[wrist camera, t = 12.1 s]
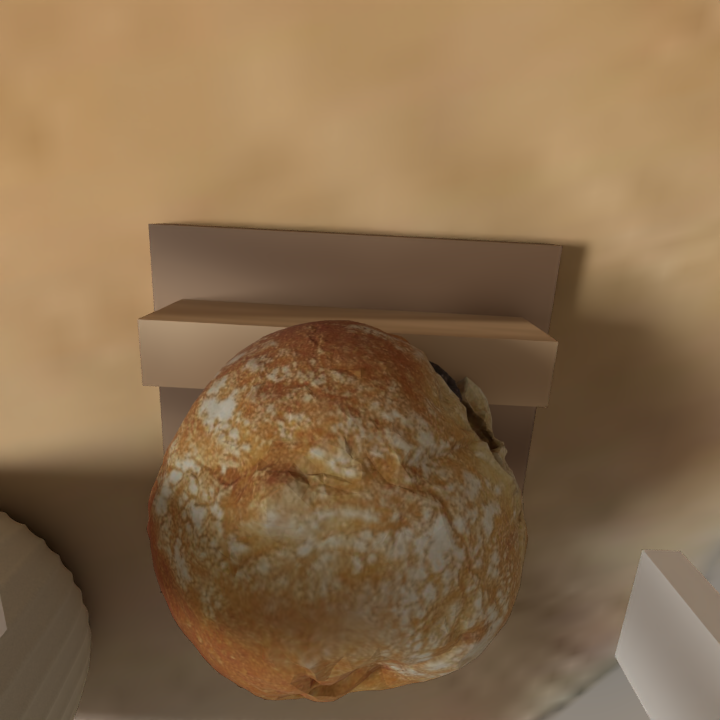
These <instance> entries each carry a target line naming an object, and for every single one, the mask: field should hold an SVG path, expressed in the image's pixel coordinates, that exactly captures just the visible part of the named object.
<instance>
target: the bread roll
mask: <svg viewBox="0 0 720 720" xmlns="http://www.w3.org/2000/svg"><path fill="white" fill-rule="evenodd" d="M506 453H507V449H506V448H505V446H504V442H503V441H500V440H498V439H496V438H495V437H494V434H493V430H492V416H491V412H490V408H489V405H488V401H487V398H486V396H485V395H484V393H483V392H482V390H481V389H480V388H479V387H478V386H477V385H476V384H475V383H473V382H472V381H471V380H470V379H469V378H468V377H465V378H463V379H462V380H460V381H458V382H457V383H455V380H454V379H453V378H452V377H450V376H449V374H448V373H447V372H446V371H444V370H443V369H442V368H441V367H440V366H439V365H437V364H435V363H433V362H431V361H429V359H428V357H427V355H426V354H425V352H423V351H421V350H419V349H418V348H416V347H414V346H413V345H411V344H410V343H409V342H408V341H407V340H406V339H405V338H403V337H402V336H398V335H393V334H389V333H386V332H384V331H382V330H380V329H378V328H375V327H373V326H370V325H367V324H364V323H359V322H355V321H350V320H324V321H315V322H308V323H303V324H298V325H294V326H291V327H288V328H285V329H281V330H278V331H276V332H273V333H271V334H268V335H266V336H263V337H262V338H261V339H259V340H258V341H256V342H254V343H252V344H250V345H249V346H247V347H246V348H244V349H243V350H241V351H240V352H239V353H237V354H236V355H235V356H234V357H233V358H232V359H230V360H229V361H228V362H227V363H226V364H225V365H224V366H223V367H222V368H221V369H220V370H219V372H218V373H217V374H216V375H215V377H214V378H213V379H212V380H211V381H210V383H209V384H208V385H207V386H206V387H205V389H204V390H203V391H202V393H201V394H200V396H199V397H198V398H197V399H196V400H195V402H194V403H193V405H192V407H191V408H190V410H189V412H188V414H187V415H186V417H185V418H184V420H183V422H182V424H181V426H180V427H179V429H178V431H177V433H176V435H175V436H174V438H173V440H172V441H171V443H170V444H169V446H168V448H167V450H166V453H165V455H164V458H163V464H162V466H161V467H160V470H159V473H158V476H157V478H156V481H155V483H154V485H153V488H152V490H151V493H150V497H149V502H148V511H149V521H148V525H147V532H148V535H149V539H150V547H151V553H152V559H153V566H154V570H155V574H156V577H157V580H158V583H159V586H160V589H161V593H163V595H164V597H165V599H166V602H167V604H168V607H169V609H170V612H171V614H172V616H173V618H174V620H175V621H176V623H177V625H178V626H179V628H180V629H181V630H182V632H183V633H184V634H185V636H186V637H187V638H188V639H189V640H190V641H191V642H192V643H193V644H194V646H195V647H196V648H197V650H198V651H199V652H200V654H201V655H202V657H203V658H204V659H205V660H206V661H207V662H208V663H209V664H210V665H211V666H212V667H213V668H214V669H215V670H216V671H217V672H219V673H220V674H221V675H223V676H224V677H226V678H228V679H229V680H231V681H232V682H234V683H235V684H237V685H238V686H239V687H242V688H245V689H247V690H248V691H250V692H251V693H253V694H254V695H255V696H258V697H261V698H263V699H265V700H286V699H300V698H307V699H310V700H312V701H315V702H329V701H335V700H337V699H339V698H340V697H342V696H344V695H346V694H347V693H351V692H357V691H364V690H385V689H391V688H395V687H399V686H403V685H407V684H411V683H418V682H425V681H428V680H432V679H435V678H438V677H441V676H444V675H447V674H450V673H452V672H454V671H456V670H458V669H460V668H462V667H463V666H465V665H466V664H468V663H469V662H471V661H472V660H474V659H475V658H477V657H478V656H479V655H480V654H481V653H482V652H483V651H484V649H485V648H486V647H487V646H488V645H489V643H490V642H491V641H492V640H493V638H494V637H495V636H496V635H497V633H498V632H499V631H500V630H501V628H502V627H503V626H504V625H505V623H506V622H507V620H508V618H509V616H510V614H511V611H512V608H513V606H514V603H515V600H516V597H517V594H518V591H519V588H520V584H521V576H522V568H523V563H524V558H525V553H526V547H527V542H528V535H527V528H526V523H525V519H524V516H523V511H524V507H523V500H522V491H521V490H520V488H519V486H518V484H517V481H516V479H515V476H514V474H513V471H512V470H511V469H510V468H509V466H508V464H507V463H506V460H505V456H506Z"/></svg>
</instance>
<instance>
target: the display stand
mask: <svg viewBox="0 0 720 720" xmlns="http://www.w3.org/2000/svg"><path fill="white" fill-rule="evenodd" d="M149 239H150V253H151V268H152V283H153V298H154V312H153V313H151V314H148V315H146V316H144V317H142V318H140V319H138V330H139V343H140V356H141V369H142V382H143V386H159V388H160V403H161V418H162V433H163V448H164V455H165V453H166V450H167V448H168V446H169V444H170V443H171V441H172V440H173V438H174V436H175V435H176V433H177V431H178V429H179V427H180V426H181V424H182V422H183V420H184V418H185V417H186V415H187V414H188V412H189V410H190V408H191V407H192V405H193V403H194V402H195V400H196V399H197V398H198V397H199V396H200V394H201V393H202V391H203V390H204V389H205V387H206V386H207V385H208V384H209V383H210V381H211V380H212V379H213V378H214V377H215V375H216V374H217V373H218V372H219V370H220V369H221V368H222V367H223V366H224V365H225V364H226V363H227V362H228V361H229V360H230V359H232V358H233V357H234V356H235V355H236V354H237V353H239V352H240V351H241V350H243V349H244V348H246V347H247V346H249V345H250V344H252V343H254V342H256V341H258V340H259V339H261V338H262V337H263V336H266V335H268V334H271V333H273V332H276V331H278V330H281V329H285V328H288V327H291V326H294V325H298V324H303V323H308V322H315V321H324V320H350V321H355V322H359V323H364V324H367V325H370V326H373V327H375V328H378V329H380V330H382V331H384V332H386V333H389V334H393V335H398V336H402V337H403V338H405V339H406V340H407V341H408V342H409V343H410V344H411V345H413V346H414V347H416V348H418V349H419V350H421V351H423V352H425V354H426V355H427V357H428V359H429V361H431V362H433V363H435V364H437V365H439V366H440V367H441V368H442V369H443V370H444V371H446V372H447V373H448V374H449V376H450V377H452V378H453V379H454V380H455V383H457V382H458V381H460V380H462V379H463V378H465V377H468V378H469V379H470V380H471V381H472V382H473V383H475V384H476V385H477V386H478V387H479V388H480V389H481V390H482V392H483V393H484V395H485V396H486V398H487V401H488V405H489V408H490V412H491V416H492V430H493V434H494V437H495V438H496V439H498V440H500V441H503V442H504V446H505V448H506V449H507V453H506V456H505V460H506V463H507V464H508V466H509V468H510V469H511V470H512V471H513V474H514V476H515V479H516V481H517V484H518V486H519V488H520V490H521V491H522V493H523V487H524V481H525V474H526V468H527V462H528V456H529V450H530V443H531V437H532V431H533V425H534V419H535V413H536V407H548V401H549V395H550V389H551V384H552V378H553V372H554V366H555V360H556V354H557V348H558V341H556V340H555V339H554V338H552V337H551V336H549V335H548V332H549V326H550V320H551V314H552V308H553V301H554V295H555V289H556V283H557V277H558V270H559V264H560V258H561V252H562V246H559V245H553V244H537V243H518V242H499V241H480V240H462V239H443V238H424V237H405V236H386V235H367V234H349V233H330V232H311V231H292V230H273V229H254V228H236V227H217V226H198V225H179V224H149Z"/></svg>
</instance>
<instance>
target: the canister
mask: <svg viewBox="0 0 720 720" xmlns="http://www.w3.org/2000/svg"><path fill="white" fill-rule="evenodd" d="M0 597H1V602H2V607H3V612H4V617H5V621H6V626H7V630H6V631H5V633H4V634H3V635H2V636H1V637H0V720H73V719H74V716H75V714H76V711H77V709H78V706H79V703H80V700H81V696H82V693H83V688H84V685H85V682H86V679H87V675H88V670H89V666H90V647H91V629H90V627H89V624H88V623H89V614H88V610H87V608H86V606H85V605H84V604H83V599H82V592H81V590H80V589H79V588H78V587H77V586H76V585H75V583H74V581H73V575H72V572H71V571H69V570H68V569H67V568H66V567H65V566H64V565H63V564H62V562H61V560H60V556H59V555H58V554H56V553H54V552H53V551H51V550H50V549H49V548H48V546H47V545H46V544H45V541H44V539H42V538H39V537H37V536H36V535H34V534H33V533H32V532H31V531H30V530H29V529H28V528H27V526H26V525H25V524H20V523H18V522H16V521H14V520H13V519H11V518H10V517H9V516H8V515H7V514H6V513H5V512H0Z"/></svg>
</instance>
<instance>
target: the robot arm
mask: <svg viewBox="0 0 720 720" xmlns="http://www.w3.org/2000/svg"><path fill="white" fill-rule="evenodd" d="M6 630H7V626H6V621H5V617H4V612H3V607H2V602H1V597H0V637H1V636H2V635H3V634H4V633H5V631H6ZM615 657H616V659H617V661H618V663H619V664H620V666H621V668H622V670H623V672H624V673H625V675H626V677H627V679H628V680H629V682H630V684H631V686H632V688H633V689H634V691H635V693H636V695H637V697H638V698H639V700H640V701H641V703H642V706H643V707H644V709H645V711H646V712H647V714H648V716H649V718H650V720H720V594H719V593H718V592H717V591H716V589H715V588H714V587H713V586H712V585H711V584H710V583H709V582H708V581H707V580H706V578H705V577H704V576H703V575H702V574H701V573H700V572H699V571H698V570H697V569H696V568H695V566H694V565H693V564H692V563H691V562H690V561H689V560H688V559H687V558H686V557H685V556H684V554H683V553H682V552H681V551H670V550H648V549H642V553H641V557H640V561H639V565H638V569H637V572H636V576H635V580H634V584H633V588H632V592H631V595H630V599H629V603H628V607H627V611H626V615H625V618H624V622H623V626H622V630H621V634H620V638H619V641H618V645H617V649H616V653H615Z"/></svg>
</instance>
